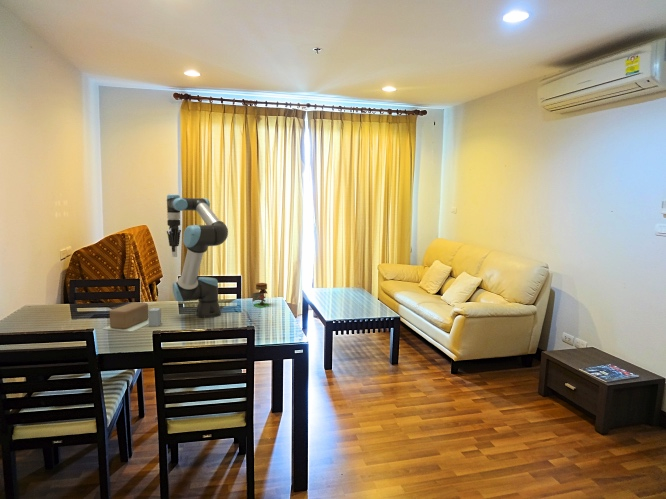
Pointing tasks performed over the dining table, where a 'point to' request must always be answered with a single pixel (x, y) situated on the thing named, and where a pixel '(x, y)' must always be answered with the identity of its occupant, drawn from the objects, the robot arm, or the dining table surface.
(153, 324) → the light grey block
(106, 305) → the dining table surface
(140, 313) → the wooden block
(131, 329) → the mat
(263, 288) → the figurine on green base
